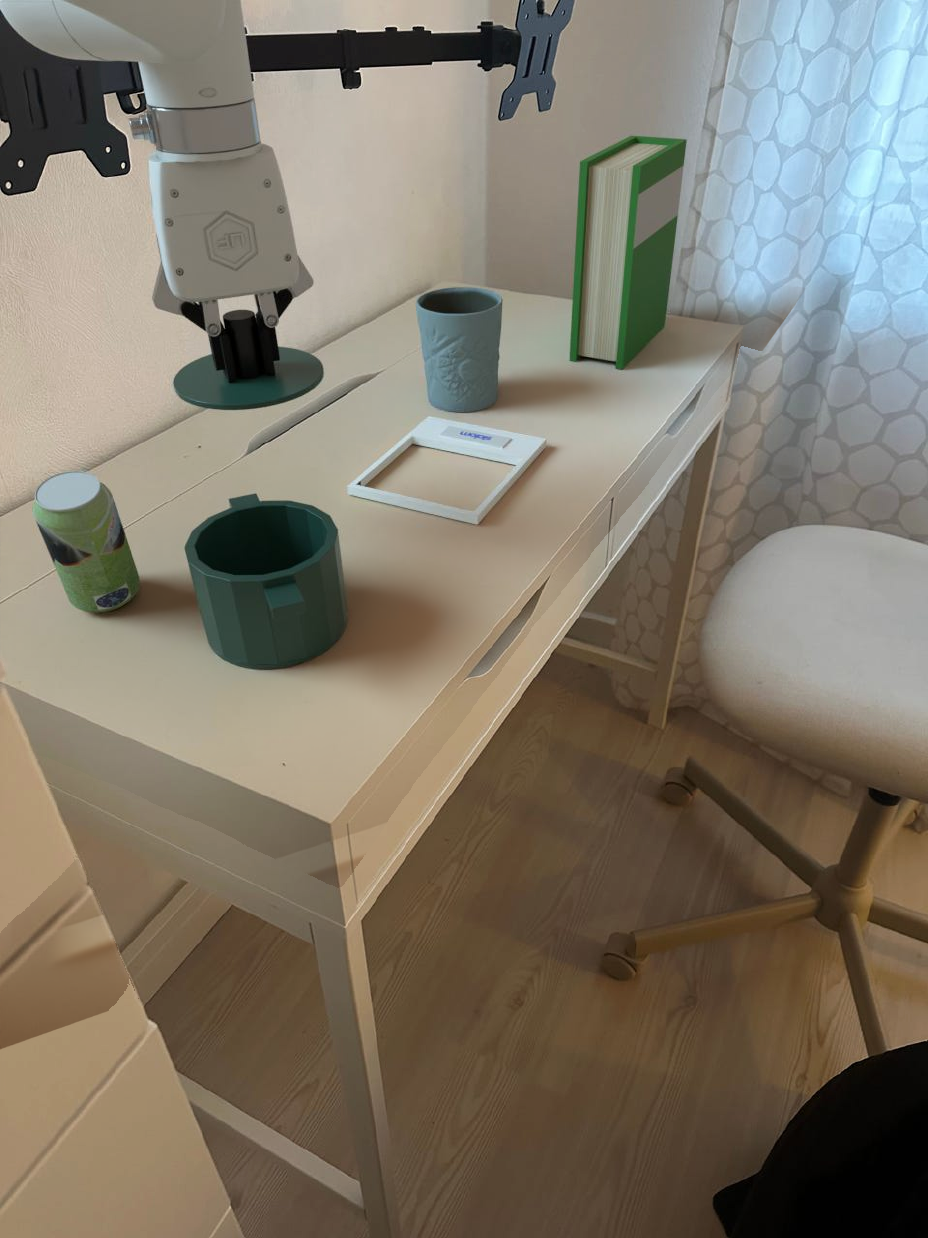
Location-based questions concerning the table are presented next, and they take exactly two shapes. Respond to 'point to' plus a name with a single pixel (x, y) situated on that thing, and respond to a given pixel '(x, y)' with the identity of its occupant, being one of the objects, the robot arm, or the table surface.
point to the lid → (248, 372)
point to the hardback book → (625, 246)
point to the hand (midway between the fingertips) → (248, 371)
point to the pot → (268, 582)
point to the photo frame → (456, 440)
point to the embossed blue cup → (460, 346)
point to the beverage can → (86, 541)
